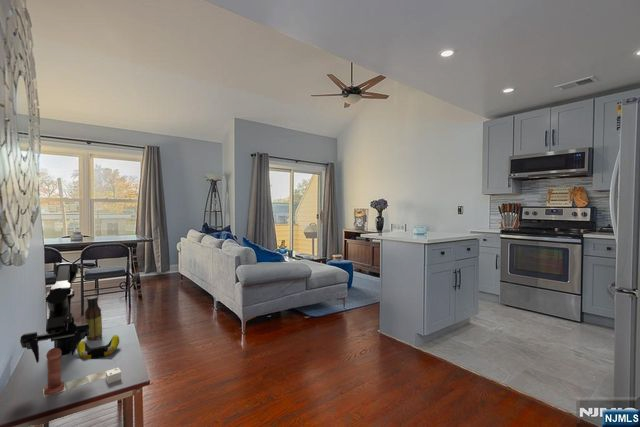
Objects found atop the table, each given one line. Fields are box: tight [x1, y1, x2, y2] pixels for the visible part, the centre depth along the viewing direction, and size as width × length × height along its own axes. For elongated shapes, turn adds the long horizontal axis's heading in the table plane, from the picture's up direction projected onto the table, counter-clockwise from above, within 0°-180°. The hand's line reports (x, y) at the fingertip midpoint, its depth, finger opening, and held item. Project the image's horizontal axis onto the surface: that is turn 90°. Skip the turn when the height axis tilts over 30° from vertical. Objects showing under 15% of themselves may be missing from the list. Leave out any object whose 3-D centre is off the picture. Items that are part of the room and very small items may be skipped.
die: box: [105, 367, 122, 385], centre depth 111 cm, size 4×4×4 cm
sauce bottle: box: [84, 295, 103, 341], centre depth 144 cm, size 6×6×20 cm
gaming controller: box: [76, 334, 120, 360], centre depth 131 cm, size 15×6×10 cm
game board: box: [42, 370, 106, 398], centre depth 110 cm, size 19×12×1 cm, turn 135°
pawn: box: [43, 347, 65, 396], centre depth 103 cm, size 5×5×15 cm
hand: (55, 358), depth 106 cm, fingers open, 9 cm apart
